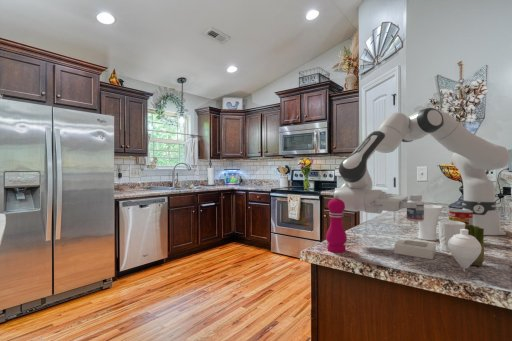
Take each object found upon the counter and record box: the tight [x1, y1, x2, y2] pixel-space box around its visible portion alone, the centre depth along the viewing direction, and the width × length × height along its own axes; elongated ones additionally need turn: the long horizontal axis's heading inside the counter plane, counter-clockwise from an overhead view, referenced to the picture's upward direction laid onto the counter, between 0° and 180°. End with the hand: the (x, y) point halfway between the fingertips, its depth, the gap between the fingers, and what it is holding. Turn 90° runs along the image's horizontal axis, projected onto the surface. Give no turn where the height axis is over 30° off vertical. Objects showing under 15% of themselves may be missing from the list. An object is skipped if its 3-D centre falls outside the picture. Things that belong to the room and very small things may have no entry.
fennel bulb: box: [466, 225, 485, 267], centre depth 86 cm, size 6×5×12 cm
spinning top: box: [448, 229, 482, 273], centre depth 80 cm, size 8×8×12 cm
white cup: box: [437, 219, 465, 253], centre depth 101 cm, size 8×8×10 cm
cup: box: [417, 204, 444, 241], centre depth 118 cm, size 10×10×14 cm
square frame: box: [393, 237, 437, 260], centre depth 99 cm, size 11×11×3 cm
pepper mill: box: [325, 194, 348, 254], centre depth 102 cm, size 7×7×20 cm
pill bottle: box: [406, 193, 425, 223], centre depth 99 cm, size 5×5×9 cm
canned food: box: [448, 208, 473, 229], centre depth 115 cm, size 8×8×12 cm
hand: (418, 204), depth 99 cm, fingers closed on pill bottle, 5 cm apart
